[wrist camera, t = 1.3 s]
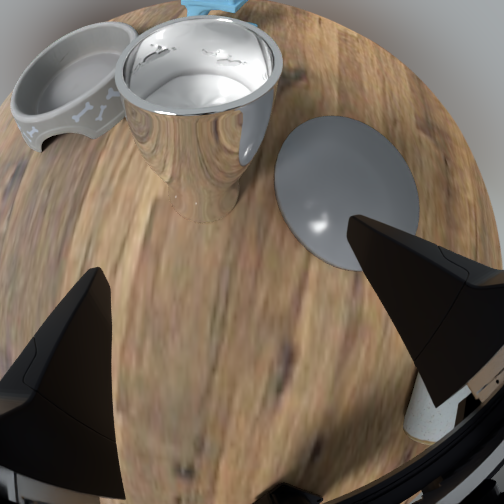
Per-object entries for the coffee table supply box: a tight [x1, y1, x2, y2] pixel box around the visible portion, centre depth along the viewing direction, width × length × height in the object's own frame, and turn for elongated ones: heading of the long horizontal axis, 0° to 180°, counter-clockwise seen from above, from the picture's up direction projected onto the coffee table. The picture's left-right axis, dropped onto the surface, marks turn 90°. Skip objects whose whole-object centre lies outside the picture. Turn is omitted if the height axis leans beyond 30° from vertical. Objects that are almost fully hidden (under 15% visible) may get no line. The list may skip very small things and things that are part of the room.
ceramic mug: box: [403, 372, 471, 445], centre depth 19 cm, size 11×8×8 cm
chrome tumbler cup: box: [114, 15, 283, 223], centre depth 15 cm, size 7×7×15 cm
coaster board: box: [274, 116, 419, 271], centre depth 24 cm, size 16×16×1 cm
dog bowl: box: [11, 22, 139, 152], centre depth 20 cm, size 17×18×5 cm
